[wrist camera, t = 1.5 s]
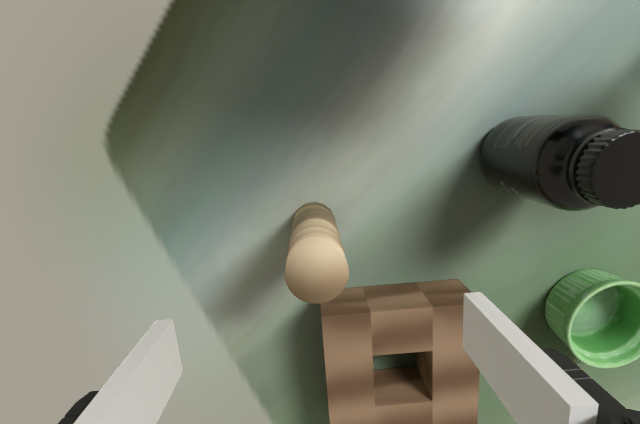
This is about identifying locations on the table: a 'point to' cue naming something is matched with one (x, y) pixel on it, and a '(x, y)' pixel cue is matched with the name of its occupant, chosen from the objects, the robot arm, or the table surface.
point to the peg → (315, 256)
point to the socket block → (394, 338)
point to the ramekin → (596, 317)
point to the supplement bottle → (565, 161)
